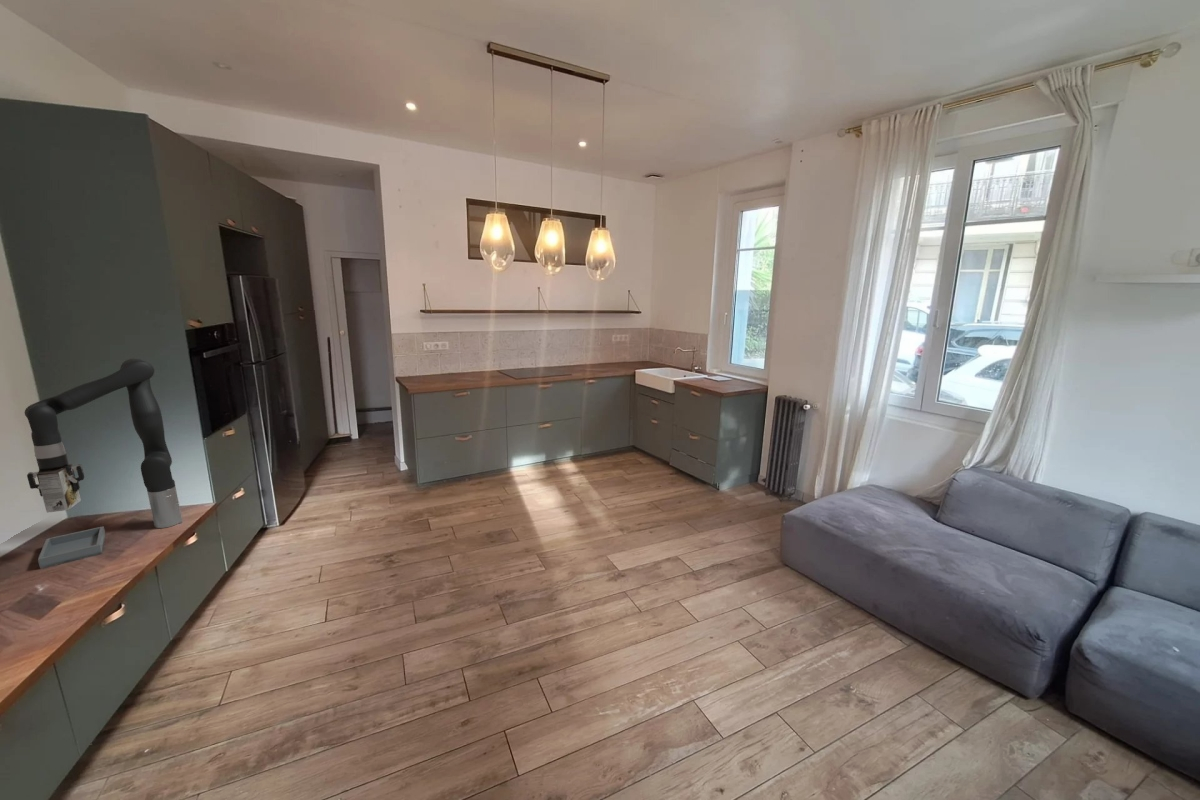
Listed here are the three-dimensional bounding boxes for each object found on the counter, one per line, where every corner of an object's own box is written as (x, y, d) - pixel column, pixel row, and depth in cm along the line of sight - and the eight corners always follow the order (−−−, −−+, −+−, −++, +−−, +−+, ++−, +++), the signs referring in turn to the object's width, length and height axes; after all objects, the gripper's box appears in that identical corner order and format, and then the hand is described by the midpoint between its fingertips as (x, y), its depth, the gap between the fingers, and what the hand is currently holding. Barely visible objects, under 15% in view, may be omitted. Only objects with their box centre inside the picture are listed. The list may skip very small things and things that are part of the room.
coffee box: (60, 503, 185) (50, 465, 181) (82, 500, 187) (73, 463, 184) (45, 513, 177) (35, 473, 173) (68, 510, 179) (58, 471, 176)
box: (105, 534, 199) (103, 526, 198) (101, 553, 185) (99, 544, 184) (48, 547, 188) (46, 538, 187) (40, 569, 174) (37, 559, 173)
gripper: (79, 448, 185) (88, 486, 188) (23, 456, 175) (34, 495, 179) (77, 453, 179) (87, 492, 183) (19, 461, 170) (30, 502, 173)
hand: (61, 493), depth 181 cm, fingers closed on coffee box, 7 cm apart
